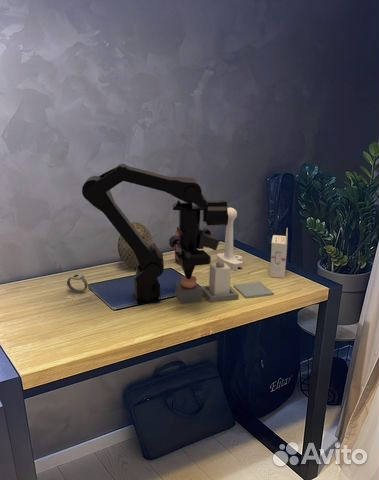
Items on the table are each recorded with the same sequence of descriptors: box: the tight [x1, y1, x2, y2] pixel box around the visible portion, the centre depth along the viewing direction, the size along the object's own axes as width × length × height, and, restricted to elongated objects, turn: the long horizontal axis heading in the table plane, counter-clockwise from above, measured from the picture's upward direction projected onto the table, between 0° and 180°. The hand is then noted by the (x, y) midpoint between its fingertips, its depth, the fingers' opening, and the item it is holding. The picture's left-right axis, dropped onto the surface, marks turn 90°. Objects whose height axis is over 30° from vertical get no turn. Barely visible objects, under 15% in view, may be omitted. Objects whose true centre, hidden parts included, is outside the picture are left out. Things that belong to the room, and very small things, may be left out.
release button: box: [180, 275, 197, 288], centre depth 139 cm, size 4×4×5 cm
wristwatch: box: [66, 273, 89, 294], centre depth 143 cm, size 6×3×5 cm, turn 72°
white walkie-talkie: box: [269, 227, 289, 279], centre depth 159 cm, size 9×5×15 cm, turn 168°
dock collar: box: [199, 284, 240, 303], centre depth 143 cm, size 9×9×2 cm
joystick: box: [216, 207, 244, 271], centre depth 165 cm, size 11×8×20 cm
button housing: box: [174, 282, 203, 305], centre depth 140 cm, size 6×6×4 cm
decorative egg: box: [117, 222, 154, 268], centre depth 162 cm, size 12×12×15 cm
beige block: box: [208, 261, 232, 296], centre depth 142 cm, size 5×5×10 cm
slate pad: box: [232, 281, 275, 299], centre depth 147 cm, size 9×9×1 cm
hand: (188, 278), depth 138 cm, fingers closed, pressing on release button
